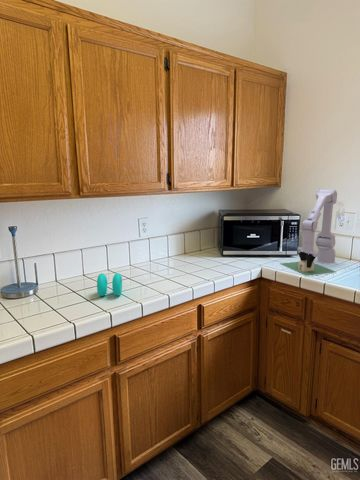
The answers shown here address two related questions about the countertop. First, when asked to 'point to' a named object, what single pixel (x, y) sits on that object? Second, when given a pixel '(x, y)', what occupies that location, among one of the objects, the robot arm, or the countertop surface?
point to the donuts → (115, 284)
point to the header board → (317, 270)
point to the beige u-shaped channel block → (305, 266)
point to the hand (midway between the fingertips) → (306, 266)
